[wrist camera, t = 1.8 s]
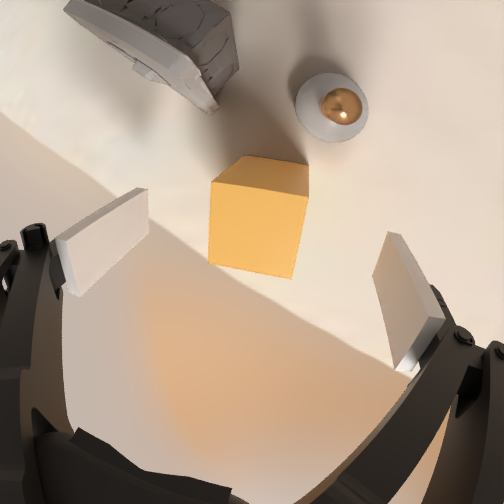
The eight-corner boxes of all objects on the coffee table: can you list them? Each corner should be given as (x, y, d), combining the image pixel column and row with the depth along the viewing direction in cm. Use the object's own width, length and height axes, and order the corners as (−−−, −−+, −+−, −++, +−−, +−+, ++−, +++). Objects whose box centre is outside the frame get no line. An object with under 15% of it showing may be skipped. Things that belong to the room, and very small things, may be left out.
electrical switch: (126, 55, 16) (41, 35, 7) (167, 4, 14) (99, -44, 5) (214, 117, 18) (153, 114, 9) (263, 62, 15) (241, 11, 7)
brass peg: (316, 96, 14) (319, 90, 10) (342, 92, 14) (358, 85, 9) (322, 121, 15) (328, 127, 10) (347, 118, 15) (365, 123, 10)
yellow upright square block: (238, 213, 21) (207, 263, 15) (244, 155, 18) (211, 181, 12) (298, 224, 20) (291, 279, 14) (308, 165, 18) (308, 197, 12)
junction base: (289, 81, 15) (287, 78, 14) (355, 72, 14) (359, 69, 13) (304, 144, 17) (303, 147, 16) (368, 135, 16) (373, 138, 15)
